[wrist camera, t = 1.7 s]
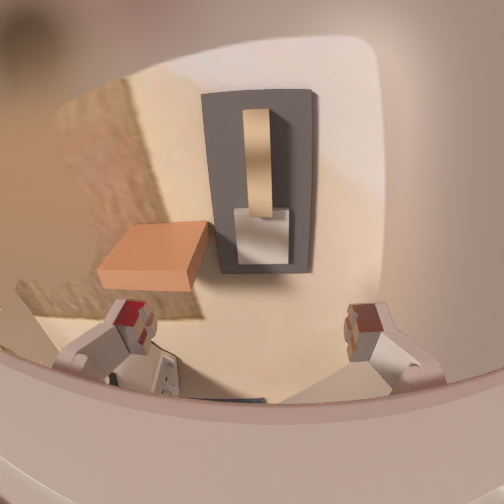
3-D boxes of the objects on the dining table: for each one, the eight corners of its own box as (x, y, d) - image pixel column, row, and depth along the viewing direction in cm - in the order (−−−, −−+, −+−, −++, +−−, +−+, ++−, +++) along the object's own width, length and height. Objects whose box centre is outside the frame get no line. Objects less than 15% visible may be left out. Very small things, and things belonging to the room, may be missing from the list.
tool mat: (306, 270, 37) (307, 272, 36) (221, 271, 37) (221, 273, 37) (310, 89, 25) (311, 89, 24) (202, 94, 26) (200, 94, 25)
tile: (209, 241, 35) (191, 293, 27) (137, 242, 36) (104, 290, 27) (207, 221, 34) (186, 270, 25) (132, 224, 34) (96, 269, 26)
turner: (287, 260, 35) (288, 271, 33) (239, 260, 36) (237, 272, 34) (287, 108, 26) (288, 109, 24) (226, 110, 26) (223, 112, 24)
